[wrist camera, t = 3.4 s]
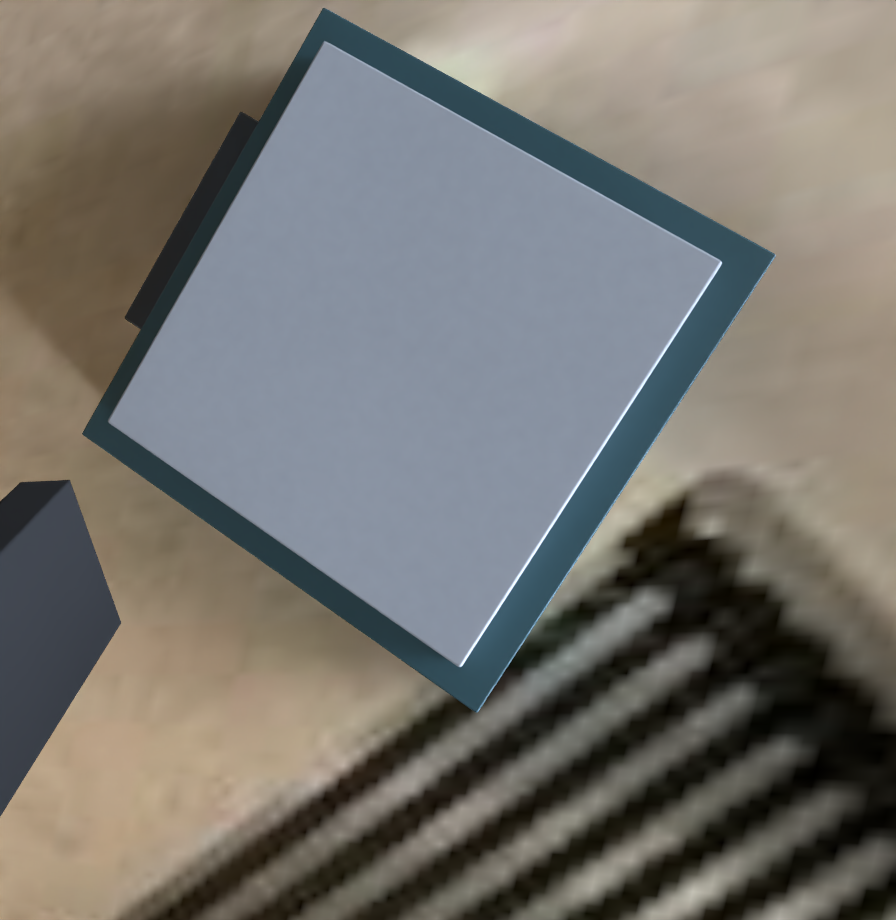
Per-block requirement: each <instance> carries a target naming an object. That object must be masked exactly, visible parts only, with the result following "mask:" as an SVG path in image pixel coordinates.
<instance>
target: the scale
mask: <svg viewBox="0 0 896 920" xmlns="http://www.w3.org/2000/svg"><path fill="white" fill-rule="evenodd" d="M775 256H776V255H775V254H774V253H772V252H770V251H768V250H767V249H765V248H763V247H761V246H759V245H757V244H756V243H754V242H752V241H750V240H748V239H746V238H745V237H743V236H741V235H739V234H737V233H735V232H734V231H732V230H730V229H728V228H726V227H724V226H723V225H721V224H719V223H717V222H715V221H713V220H712V219H710V218H708V217H706V216H704V215H703V214H701V213H699V212H697V211H695V210H693V209H692V208H690V207H688V206H686V205H684V204H682V203H681V202H679V201H677V200H675V199H673V198H671V197H670V196H668V195H666V194H664V193H662V192H660V191H659V190H657V189H655V188H653V187H651V186H649V185H648V184H646V183H644V182H642V181H640V180H638V179H637V178H635V177H633V176H631V175H629V174H628V173H626V172H624V171H622V170H620V169H618V168H617V167H615V166H613V165H611V164H609V163H607V162H606V161H604V160H602V159H600V158H598V157H596V156H595V155H593V154H591V153H589V152H587V151H585V150H584V149H582V148H580V147H578V146H576V145H574V144H573V143H571V142H569V141H567V140H565V139H563V138H562V137H560V136H558V135H556V134H554V133H552V132H551V131H549V130H547V129H545V128H543V127H542V126H540V125H538V124H536V123H534V122H532V121H531V120H529V119H527V118H525V117H523V116H521V115H520V114H518V113H516V112H514V111H512V110H510V109H509V108H507V107H505V106H503V105H501V104H499V103H498V102H496V101H494V100H492V99H490V98H488V97H487V96H485V95H483V94H481V93H479V92H477V91H476V90H474V89H472V88H470V87H468V86H466V85H465V84H463V83H461V82H459V81H457V80H456V79H454V78H452V77H450V76H448V75H446V74H445V73H443V72H441V71H439V70H437V69H435V68H434V67H432V66H430V65H428V64H426V63H424V62H423V61H421V60H419V59H417V58H415V57H413V56H412V55H410V54H408V53H406V52H404V51H402V50H401V49H399V48H397V47H395V46H393V45H391V44H390V43H388V42H386V41H384V40H382V39H380V38H379V37H377V36H375V35H373V34H371V33H370V32H368V31H366V30H364V29H362V28H360V27H359V26H357V25H355V24H353V23H351V22H349V21H348V20H346V19H344V18H342V17H340V16H338V15H337V14H335V13H333V12H331V11H329V10H327V9H326V8H323V9H322V11H321V13H320V14H319V16H318V18H317V20H316V22H315V23H314V25H313V27H312V29H311V30H310V32H309V34H308V36H307V37H306V39H305V41H304V43H303V44H302V46H301V48H300V50H299V52H298V53H297V55H296V57H295V59H294V60H293V62H292V64H291V66H290V67H289V69H288V71H287V73H286V74H285V76H284V78H283V80H282V82H281V83H280V85H279V87H278V89H277V90H276V92H275V94H274V96H273V97H272V99H271V101H270V103H269V104H268V106H267V108H266V110H265V112H264V113H263V115H262V117H261V119H260V120H259V122H258V121H257V120H255V119H253V118H252V117H250V116H248V115H247V114H245V113H243V112H240V113H239V115H238V117H237V118H236V120H235V122H234V124H233V126H232V127H231V129H230V131H229V133H228V134H227V136H226V138H225V140H224V142H223V143H222V145H221V147H220V149H219V150H218V152H217V154H216V156H215V158H214V159H213V161H212V163H211V165H210V166H209V168H208V170H207V172H206V173H205V175H204V177H203V179H202V181H201V182H200V184H199V186H198V188H197V189H196V191H195V193H194V195H193V197H192V198H191V200H190V202H189V204H188V205H187V207H186V209H185V211H184V213H183V214H182V216H181V218H180V220H179V221H178V223H177V225H176V227H175V229H174V230H173V232H172V234H171V236H170V237H169V239H168V241H167V243H166V245H165V246H164V248H163V250H162V252H161V253H160V255H159V257H158V259H157V261H156V262H155V264H154V266H153V268H152V269H151V271H150V273H149V275H148V277H147V278H146V280H145V282H144V284H143V285H142V287H141V289H140V291H139V292H138V294H137V296H136V298H135V300H134V301H133V303H132V305H131V307H130V308H129V310H128V312H127V314H126V316H125V319H126V320H127V321H129V322H130V323H132V324H133V325H135V326H136V327H138V328H139V329H141V330H140V332H139V334H138V336H137V338H136V339H135V341H134V343H133V345H132V346H131V348H130V350H129V352H128V353H127V355H126V357H125V359H124V360H123V362H122V364H121V366H120V368H119V369H118V371H117V373H116V375H115V376H114V378H113V380H112V382H111V383H110V385H109V387H108V389H107V390H106V392H105V394H104V396H103V398H102V399H101V401H100V403H99V405H98V406H97V408H96V410H95V412H94V413H93V415H92V417H91V419H90V420H89V422H88V424H87V426H86V428H85V429H84V431H83V433H82V434H83V435H84V436H85V437H87V438H88V439H89V440H91V441H92V442H94V443H95V444H97V445H98V446H99V447H101V448H102V449H104V450H105V451H106V452H108V453H109V454H111V455H112V456H113V457H115V458H116V459H118V460H119V461H121V462H122V463H123V464H125V465H126V466H128V467H129V468H130V469H132V470H133V471H135V472H136V473H138V474H139V475H140V476H142V477H143V478H145V479H146V480H147V481H149V482H150V483H152V484H153V485H155V486H156V487H157V488H159V489H160V490H162V491H163V492H164V493H166V494H167V495H169V496H170V497H171V498H173V499H174V500H176V501H177V502H179V503H180V504H181V505H183V506H184V507H186V508H187V509H188V510H190V511H191V512H193V513H194V514H196V515H197V516H198V517H200V518H201V519H203V520H204V521H205V522H207V523H208V524H210V525H211V526H213V527H214V528H215V529H217V530H218V531H220V532H221V533H222V534H224V535H225V536H227V537H228V538H230V539H231V540H232V541H234V542H235V543H237V544H238V545H239V546H241V547H242V548H244V549H245V550H246V551H248V552H249V553H251V554H252V555H254V556H255V557H256V558H258V559H259V560H261V561H262V562H263V563H265V564H266V565H268V566H269V567H271V568H272V569H273V570H275V571H276V572H278V573H279V574H280V575H282V576H283V577H285V578H286V579H288V580H289V581H290V582H292V583H293V584H295V585H296V586H297V587H299V588H300V589H302V590H303V591H304V592H306V593H307V594H309V595H310V596H312V597H313V598H314V599H316V600H317V601H319V602H320V603H321V604H323V605H324V606H326V607H327V608H329V609H330V610H331V611H333V612H334V613H336V614H337V615H338V616H340V617H341V618H343V619H344V620H346V621H347V622H348V623H350V624H351V625H353V626H354V627H355V628H357V629H358V630H360V631H361V632H363V633H364V634H365V635H367V636H368V637H370V638H371V639H372V640H374V641H375V642H377V643H378V644H379V645H381V646H382V647H384V648H385V649H387V650H388V651H389V652H391V653H392V654H394V655H395V656H396V657H398V658H399V659H401V660H402V661H404V662H405V663H406V664H408V665H409V666H411V667H412V668H413V669H415V670H416V671H418V672H419V673H421V674H422V675H423V676H425V677H426V678H428V679H429V680H430V681H432V682H433V683H435V684H436V685H437V686H439V687H440V688H442V689H443V690H445V691H446V692H447V693H449V694H450V695H452V696H453V697H454V698H456V699H457V700H459V701H460V702H462V703H463V704H464V705H466V706H467V707H469V708H470V709H471V710H473V711H474V712H476V713H477V712H478V711H479V709H480V708H481V706H482V705H483V703H484V702H485V700H486V699H487V697H488V696H489V694H490V693H491V691H492V690H493V688H494V687H495V685H496V683H497V682H498V680H499V679H500V677H501V676H502V674H503V673H504V671H505V670H506V668H507V667H508V665H509V664H510V662H511V661H512V659H513V657H514V656H515V654H516V653H517V651H518V650H519V648H520V647H521V645H522V644H523V642H524V641H525V639H526V638H527V636H528V635H529V633H530V631H531V630H532V628H533V627H534V625H535V624H536V622H537V621H538V619H539V618H540V616H541V615H542V613H543V612H544V610H545V608H546V607H547V605H548V604H549V602H550V601H551V599H552V598H553V596H554V595H555V593H556V592H557V590H558V589H559V587H560V586H561V584H562V582H563V581H564V579H565V578H566V576H567V575H568V573H569V572H570V570H571V569H572V567H573V566H574V564H575V563H576V561H577V560H578V558H579V556H580V555H581V553H582V552H583V550H584V549H585V547H586V546H587V544H588V543H589V541H590V540H591V538H592V537H593V535H594V533H595V532H596V530H597V529H598V527H599V526H600V524H601V523H602V521H603V520H604V518H605V517H606V515H607V514H608V512H609V511H610V509H611V507H612V506H613V504H614V503H615V501H616V500H617V498H618V497H619V495H620V494H621V492H622V491H623V489H624V488H625V486H626V485H627V483H628V481H629V480H630V478H631V477H632V475H633V474H634V472H635V471H636V469H637V468H638V466H639V465H640V463H641V462H642V460H643V458H644V457H645V455H646V454H647V452H648V451H649V449H650V448H651V446H652V445H653V443H654V442H655V440H656V439H657V437H658V436H659V434H660V432H661V431H662V429H663V428H664V426H665V425H666V423H667V422H668V420H669V419H670V417H671V416H672V414H673V413H674V411H675V410H676V408H677V406H678V405H679V403H680V402H681V400H682V399H683V397H684V396H685V394H686V393H687V391H688V390H689V388H690V387H691V385H692V384H693V382H694V380H695V379H696V377H697V376H698V374H699V373H700V371H701V370H702V368H703V367H704V365H705V364H706V362H707V361H708V359H709V357H710V356H711V354H712V353H713V351H714V350H715V348H716V347H717V345H718V344H719V342H720V341H721V339H722V338H723V336H724V335H725V333H726V331H727V330H728V328H729V327H730V325H731V324H732V322H733V321H734V319H735V318H736V316H737V315H738V313H739V312H740V310H741V309H742V307H743V305H744V304H745V302H746V301H747V299H748V298H749V296H750V295H751V293H752V292H753V290H754V289H755V287H756V286H757V284H758V282H759V281H760V279H761V278H762V276H763V275H764V273H765V272H766V270H767V269H768V267H769V266H770V264H771V263H772V261H773V260H774V258H775Z"/></svg>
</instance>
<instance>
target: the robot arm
mask: <svg viewBox="0 0 896 920" xmlns="http://www.w3.org/2000/svg"><path fill="white" fill-rule="evenodd" d="M120 624H121V621H120V618H119V615H118V612H117V610H116V607H115V604H114V601H113V599H112V596H111V593H110V590H109V588H108V585H107V582H106V579H105V577H104V574H103V571H102V568H101V565H100V563H99V560H98V557H97V554H96V552H95V549H94V546H93V543H92V541H91V538H90V535H89V532H88V529H87V527H86V524H85V521H84V518H83V516H82V513H81V510H80V507H79V505H78V502H77V499H76V496H75V493H74V491H73V488H72V485H71V482H70V480H60V481H39V482H20V483H19V484H18V485H17V486H16V487H15V488H14V489H13V490H12V491H11V492H10V493H9V494H8V495H7V496H6V497H5V498H3V499H2V500H1V501H0V816H1V815H2V813H3V811H4V810H5V808H6V807H7V805H8V803H9V802H10V800H11V799H12V797H13V795H14V794H15V792H16V791H17V789H18V787H19V786H20V784H21V782H22V781H23V779H24V778H25V776H26V774H27V773H28V771H29V770H30V768H31V766H32V765H33V763H34V762H35V760H36V758H37V757H38V755H39V754H40V752H41V750H42V749H43V747H44V746H45V744H46V742H47V741H48V739H49V738H50V736H51V734H52V733H53V731H54V730H55V728H56V726H57V725H58V723H59V722H60V720H61V718H62V717H63V715H64V714H65V712H66V710H67V709H68V707H69V706H70V704H71V702H72V701H73V699H74V698H75V696H76V694H77V693H78V691H79V690H80V688H81V686H82V685H83V683H84V682H85V680H86V678H87V677H88V675H89V674H90V672H91V670H92V669H93V667H94V666H95V664H96V662H97V661H98V659H99V658H100V656H101V654H102V653H103V651H104V650H105V648H106V646H107V645H108V643H109V642H110V640H111V638H112V637H113V635H114V634H115V632H116V630H117V629H118V627H119V626H120Z"/></svg>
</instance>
